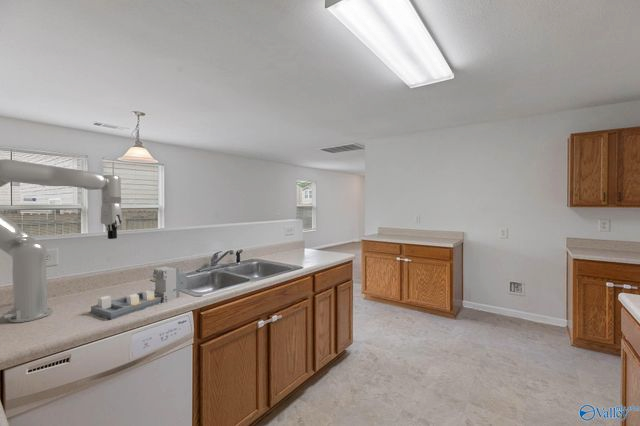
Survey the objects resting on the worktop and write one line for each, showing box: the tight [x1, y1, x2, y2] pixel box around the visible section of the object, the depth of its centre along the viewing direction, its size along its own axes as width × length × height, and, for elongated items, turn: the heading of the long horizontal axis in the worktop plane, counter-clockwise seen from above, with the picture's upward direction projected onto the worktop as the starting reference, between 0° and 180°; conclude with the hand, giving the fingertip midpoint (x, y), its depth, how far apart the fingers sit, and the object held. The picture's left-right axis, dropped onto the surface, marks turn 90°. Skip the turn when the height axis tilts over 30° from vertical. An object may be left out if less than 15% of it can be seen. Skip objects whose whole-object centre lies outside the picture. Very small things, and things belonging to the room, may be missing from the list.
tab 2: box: [127, 293, 139, 305], centre depth 123 cm, size 4×3×5 cm
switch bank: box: [90, 291, 162, 320], centre depth 125 cm, size 21×15×3 cm
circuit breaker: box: [152, 265, 188, 303], centre depth 139 cm, size 8×14×15 cm, turn 155°
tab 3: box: [142, 288, 155, 300], centre depth 129 cm, size 4×3×5 cm
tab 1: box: [97, 295, 112, 309], centre depth 120 cm, size 4×3×5 cm
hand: (112, 238), depth 136 cm, fingers closed
